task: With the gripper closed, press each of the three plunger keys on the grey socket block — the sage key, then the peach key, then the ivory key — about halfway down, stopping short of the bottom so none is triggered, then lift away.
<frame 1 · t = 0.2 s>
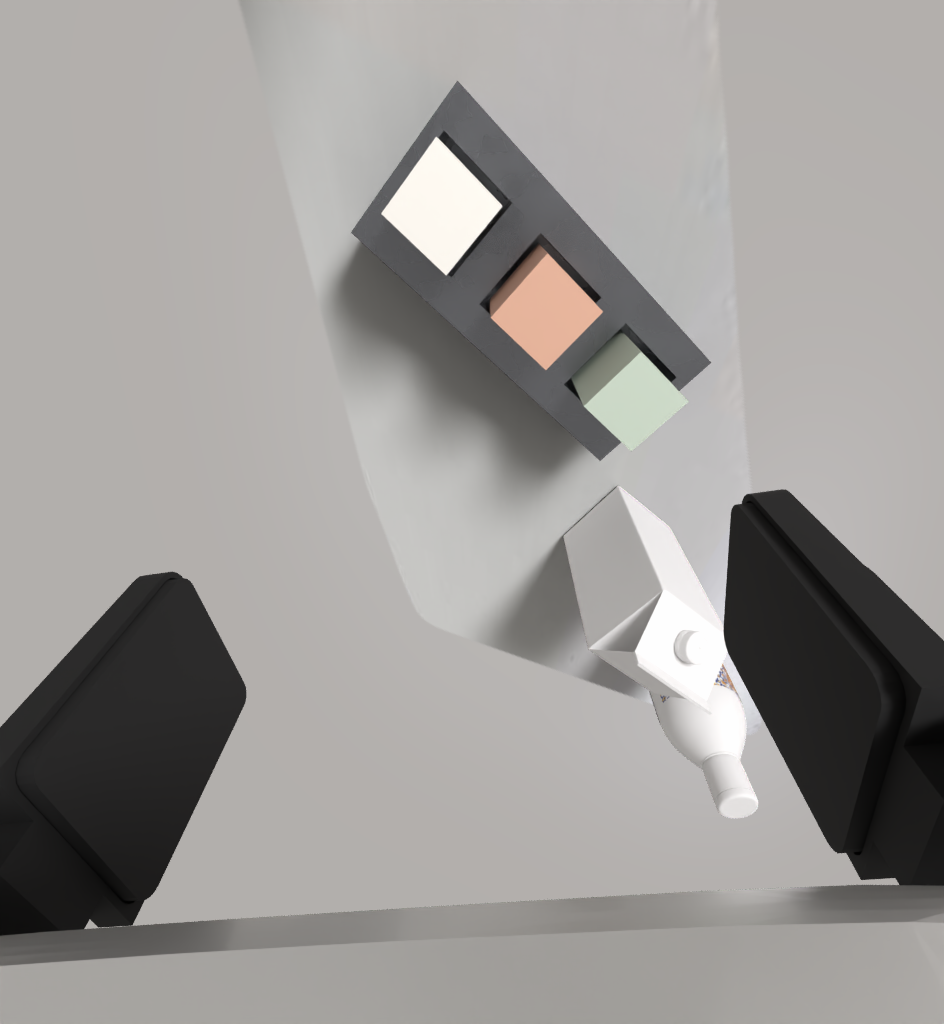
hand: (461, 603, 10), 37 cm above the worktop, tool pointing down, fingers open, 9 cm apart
ivory key: (445, 207, 32), point 7 cm above the worktop, slide at 0.0 cm
sage key: (625, 388, 37), point 7 cm above the worktop, slide at 0.0 cm
peach key: (542, 305, 35), point 7 cm above the worktop, slide at 0.0 cm
bath foam: (662, 619, 58), on the worktop
grey socket block: (533, 286, 41), on the worktop
milk carton: (615, 529, 52), on the worktop
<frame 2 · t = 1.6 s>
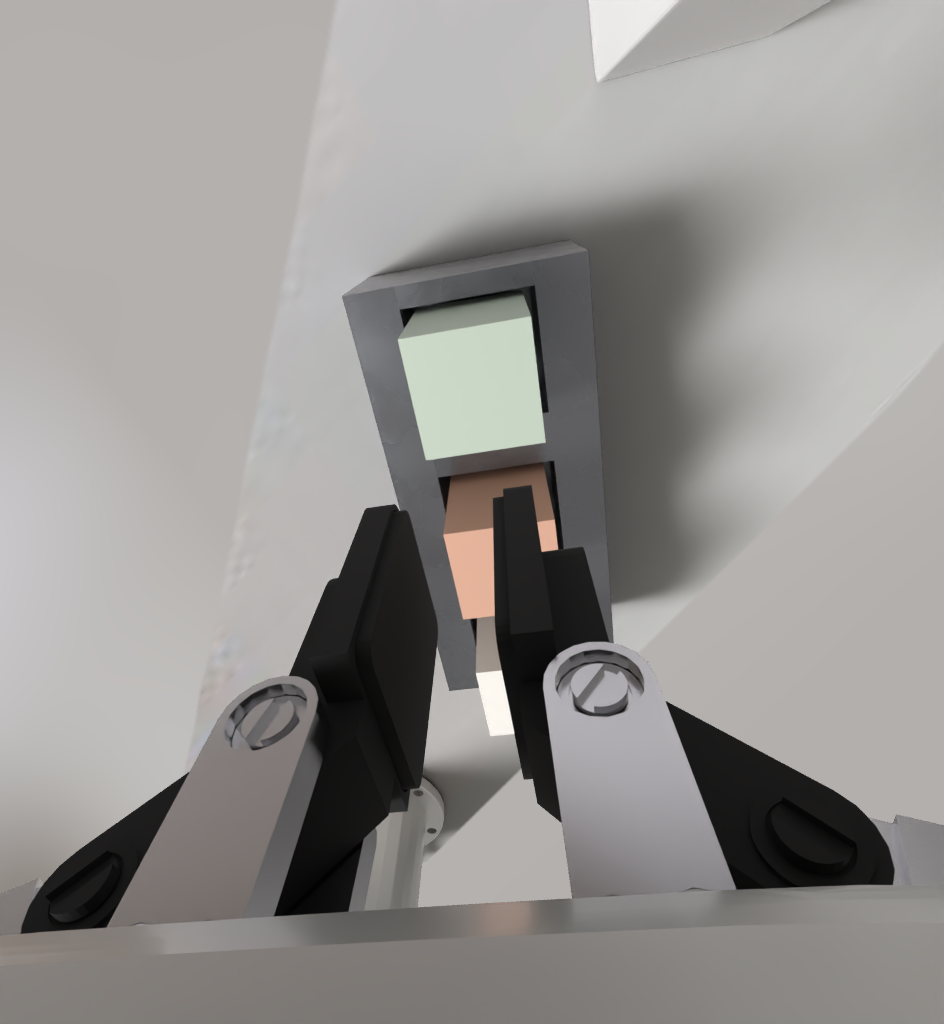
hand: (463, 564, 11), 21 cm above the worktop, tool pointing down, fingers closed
ivory key: (525, 657, 30), point 8 cm above the worktop, slide at 0.0 cm
sage key: (476, 370, 23), point 8 cm above the worktop, slide at 0.0 cm
peach key: (504, 535, 26), point 8 cm above the worktop, slide at 0.0 cm
grey socket block: (501, 467, 33), on the worktop
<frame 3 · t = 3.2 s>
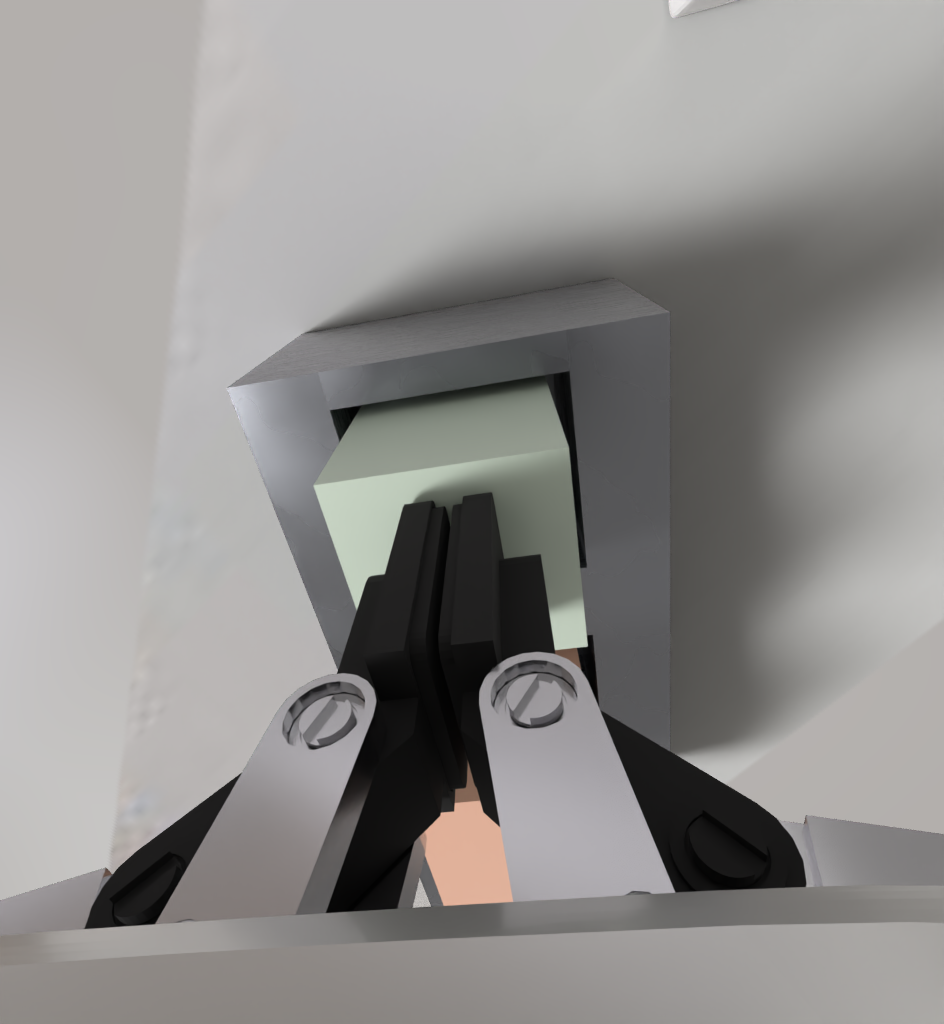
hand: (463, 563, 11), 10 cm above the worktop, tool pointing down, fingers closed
sage key: (466, 500, 13), point 7 cm above the worktop, slide at 1.0 cm, touching gripper
peach key: (512, 751, 16), point 7 cm above the worktop, slide at 0.0 cm
grey socket block: (505, 594, 23), on the worktop
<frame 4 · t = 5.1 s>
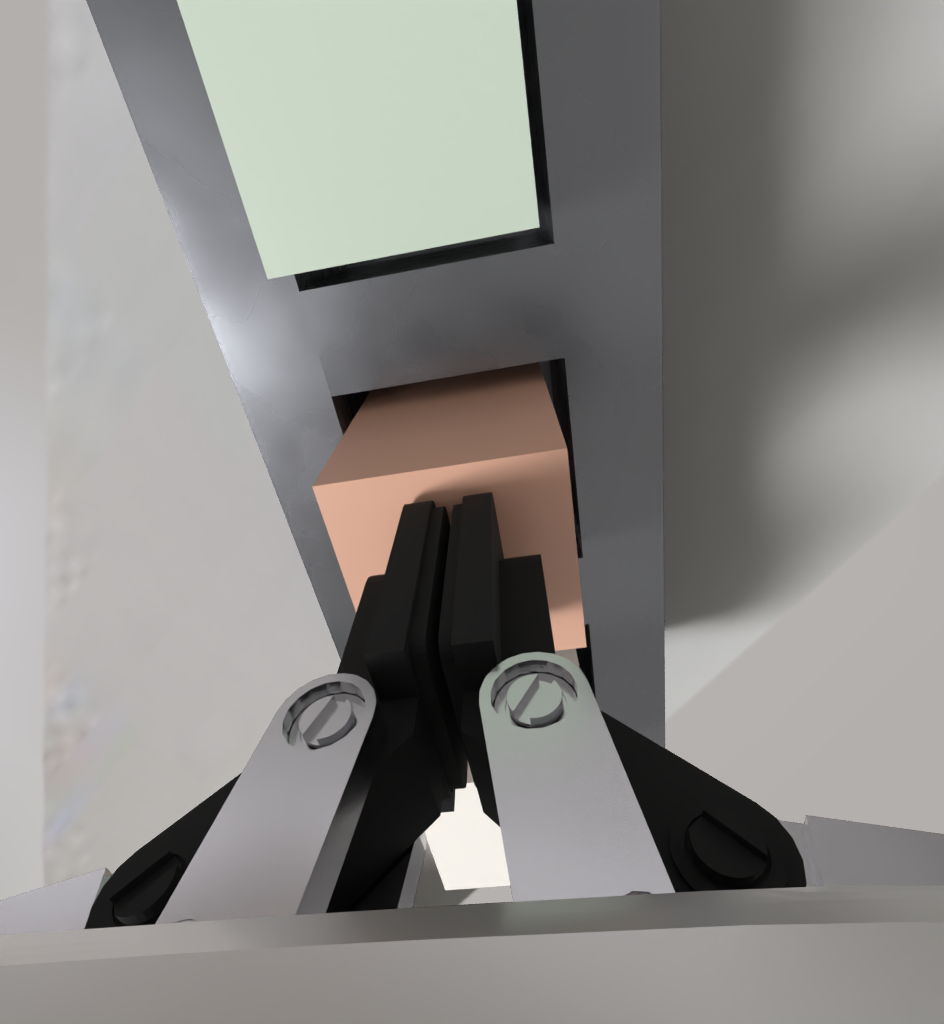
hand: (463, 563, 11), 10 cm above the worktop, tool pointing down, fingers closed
ivory key: (511, 737, 17), point 8 cm above the worktop, slide at 0.0 cm
sage key: (393, 111, 11), point 6 cm above the worktop, slide at 1.6 cm
peach key: (465, 501, 14), point 7 cm above the worktop, slide at 0.5 cm, touching gripper
grey socket block: (471, 408, 20), on the worktop
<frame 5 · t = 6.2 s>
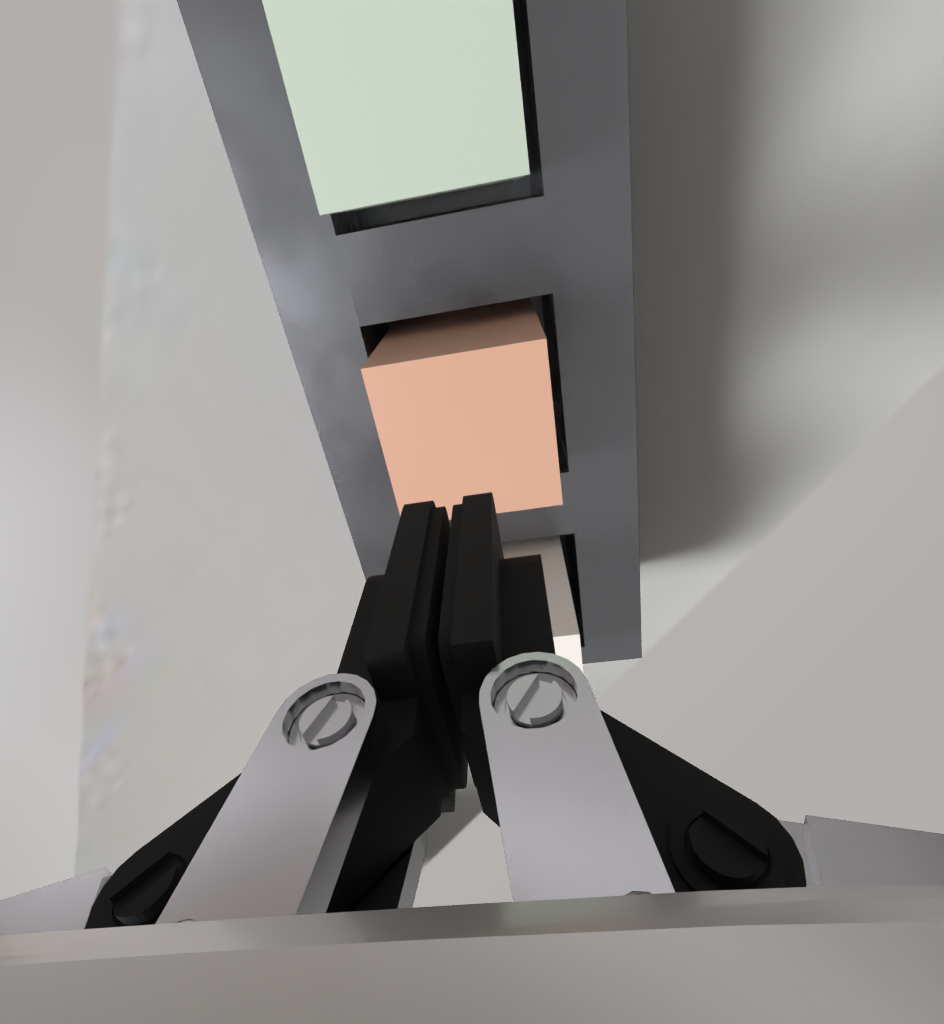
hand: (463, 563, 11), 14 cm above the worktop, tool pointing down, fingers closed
ivory key: (507, 631, 20), point 8 cm above the worktop, slide at 0.0 cm
sage key: (415, 85, 13), point 6 cm above the worktop, slide at 1.6 cm
peach key: (470, 403, 17), point 6 cm above the worktop, slide at 1.6 cm
grey socket block: (475, 354, 22), on the worktop
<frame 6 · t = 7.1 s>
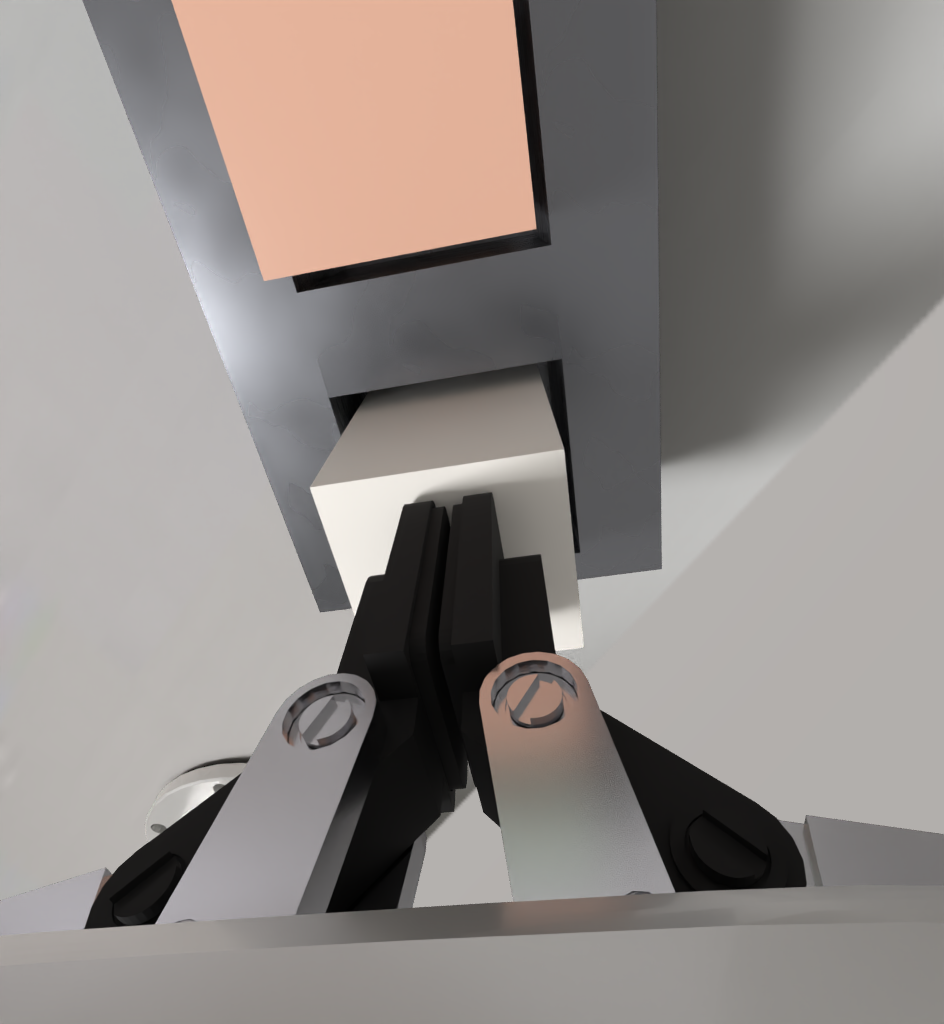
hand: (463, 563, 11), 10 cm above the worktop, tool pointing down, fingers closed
ivory key: (462, 502, 14), point 7 cm above the worktop, slide at 0.5 cm, touching gripper
peach key: (390, 112, 11), point 6 cm above the worktop, slide at 1.6 cm
grey socket block: (421, 142, 16), on the worktop
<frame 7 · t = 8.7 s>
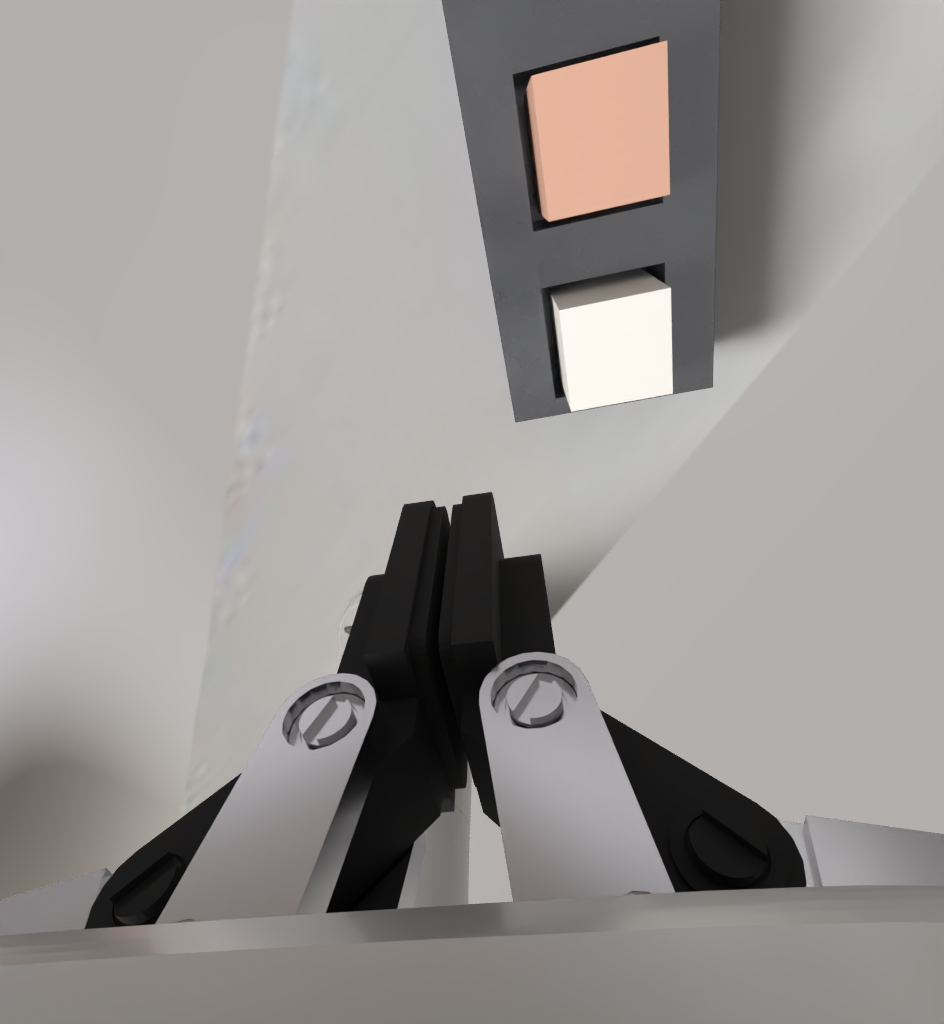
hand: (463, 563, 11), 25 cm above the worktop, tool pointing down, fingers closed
ivory key: (605, 336, 27), point 6 cm above the worktop, slide at 1.7 cm
peach key: (591, 141, 23), point 6 cm above the worktop, slide at 1.6 cm
grey socket block: (573, 147, 28), on the worktop
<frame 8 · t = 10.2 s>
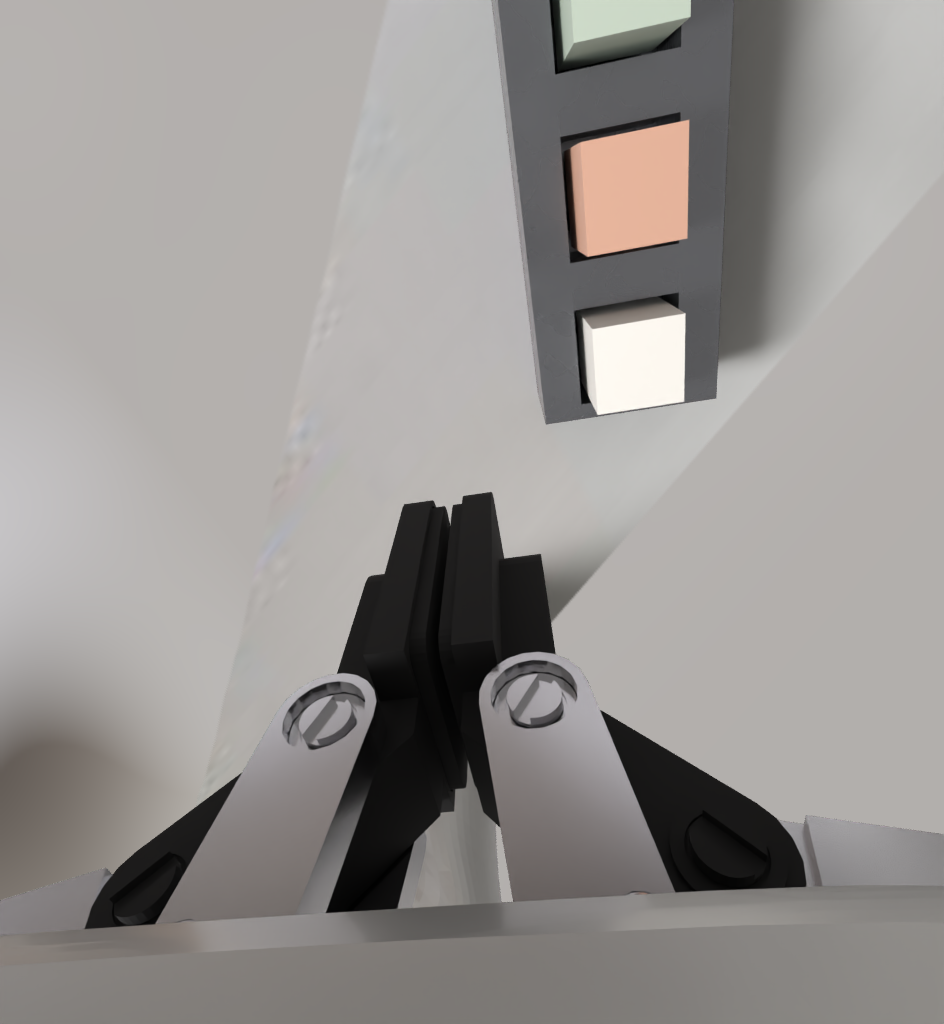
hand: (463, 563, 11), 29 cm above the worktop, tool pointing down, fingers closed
ivory key: (627, 352, 32), point 6 cm above the worktop, slide at 1.7 cm
peach key: (621, 192, 28), point 6 cm above the worktop, slide at 1.6 cm
grey socket block: (600, 192, 33), on the worktop
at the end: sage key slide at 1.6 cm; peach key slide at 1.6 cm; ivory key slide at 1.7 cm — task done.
